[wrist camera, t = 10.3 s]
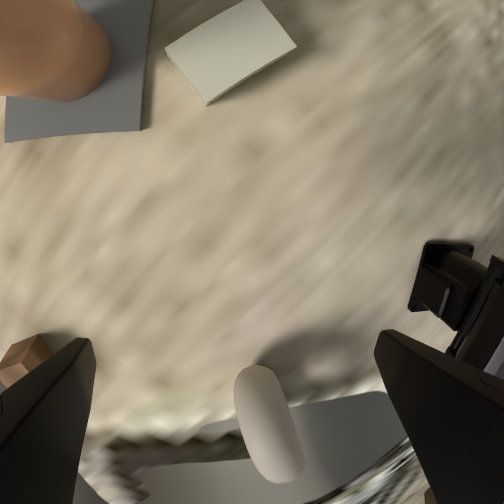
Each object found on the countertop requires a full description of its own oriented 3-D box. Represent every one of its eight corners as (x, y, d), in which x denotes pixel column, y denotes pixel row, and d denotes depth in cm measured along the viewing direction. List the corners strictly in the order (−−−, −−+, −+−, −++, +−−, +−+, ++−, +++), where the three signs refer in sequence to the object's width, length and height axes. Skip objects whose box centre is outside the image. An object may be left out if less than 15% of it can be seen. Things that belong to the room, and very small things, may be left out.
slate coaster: (156, -12, 15) (155, -16, 14) (141, 130, 18) (139, 130, 18) (23, 10, 13) (19, 8, 12) (9, 142, 16) (4, 143, 16)
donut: (220, 347, 25) (235, 451, 15) (262, 334, 25) (295, 434, 16) (256, 418, 29) (276, 505, 19) (289, 408, 29) (318, 492, 20)
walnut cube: (38, 333, 22) (21, 362, 18) (65, 368, 23) (52, 399, 20) (11, 344, 22) (-6, 372, 18) (37, 377, 23) (23, 406, 20)
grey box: (247, 11, 16) (255, -6, 14) (283, 57, 18) (296, 46, 15) (169, 59, 17) (164, 48, 14) (205, 106, 18) (206, 102, 16)
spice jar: (127, 30, 15) (27, -92, 2) (90, 111, 16) (-74, 103, 4) (56, 16, 13) (-73, -63, 1) (23, 93, 15) (-140, 87, 2)
